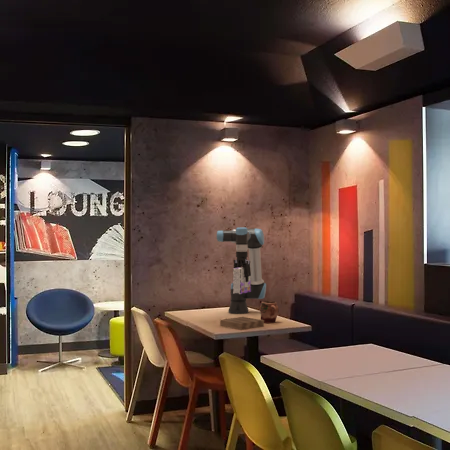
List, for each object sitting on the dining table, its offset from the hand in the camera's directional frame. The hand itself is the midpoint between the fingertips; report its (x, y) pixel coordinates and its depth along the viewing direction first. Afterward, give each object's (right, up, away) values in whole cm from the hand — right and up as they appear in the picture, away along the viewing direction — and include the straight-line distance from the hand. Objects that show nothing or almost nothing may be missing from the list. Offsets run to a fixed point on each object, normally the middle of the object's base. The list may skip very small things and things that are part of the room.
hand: (241, 286), depth 391 cm
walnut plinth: (0, -26, 0) cm, 26 cm away
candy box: (0, -4, 0) cm, 4 cm away
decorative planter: (+19, -26, +15) cm, 35 cm away
